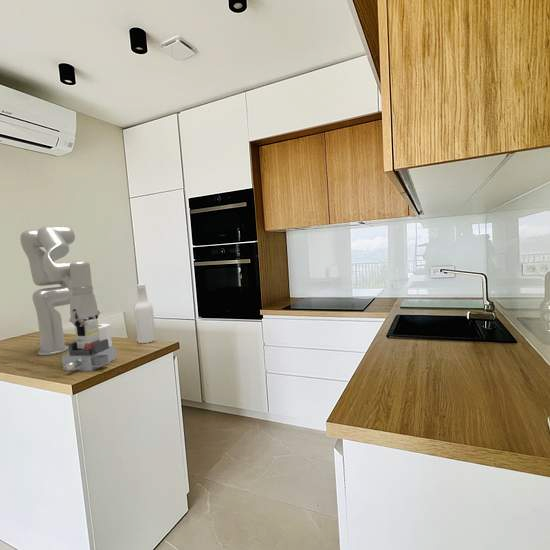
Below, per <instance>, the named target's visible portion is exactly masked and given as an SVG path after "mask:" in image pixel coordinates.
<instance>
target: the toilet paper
mask: <svg viewBox="0 0 550 550" xmlns="http://www.w3.org/2000/svg"><path fill="white" fill-rule="evenodd" d="M98 328H99V337H100V341H101V340H104V339H108V344H109V346H113V341H112V332H111V325H110V323H100V324H99V323H98Z"/></svg>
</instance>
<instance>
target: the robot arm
mask: <svg viewBox="0 0 550 550" xmlns="http://www.w3.org/2000/svg"><path fill="white" fill-rule="evenodd" d="M75 239H76V235H75V232H74V230H73V229H72V228H71V227H70V226H66V225H45V226H42V227H40V228H39V229H29V230H25V231H23V232H21V233H20V238H19V240H20V244H21V248H22V251H23V252H24V253H25V255H26V257H27V259H28V264H29V267H30V273H31V274H30V275H31V277H32V281H33V283H34V284H35V285H36V286H38V287H45V286H54V287H47V288H46V287H45V288H41V289H38V290H36V291H34V292H33V293H32V295H31V296H32V302H33V304H34V308H35V312H36V316H37V324H38V330H39V332H38V333H39V337H40V339H39V340H40V343H39V344H38V345H36V349H37V348H38V349H40V350H39V351H38V352H37V354H38V355H39V356H51V355H57V354H60V353H64V352H66V351H69V346H68V345H66V343H65V338H64V327H63V320H62V314H61V313H60V312H59V311H58V310H57V309H56V307H60V306H61V307H62V306H66V305H69V314H70V318H69V320H68V322H70V323H71V324H73V325H74V328H75V327H77V334H78V336H85V329H84V326H83V321H84V319H97V320H98V318H99V315H100V314H101V311H100V310H99V309H98V305H97V304H98V303H97V300H96V296H95V293H94V287H93V281H92V273H91V272H92V271H91V263H90V262H88V261H77V260H76V261H75V260H74V261H61V262H56V261H57V260H60V259H62V258H64V257H66V256H67V254H68V253H69V252H70V245H71V244H73V243H74V242H75ZM42 248H44V249H45V250H43V249H42ZM55 285H59V286H56V287H55ZM79 321H80V323H79Z"/></svg>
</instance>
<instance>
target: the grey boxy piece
mask: <svg viewBox="0 0 550 550" xmlns="http://www.w3.org/2000/svg"><path fill="white" fill-rule="evenodd" d="M92 345H93V349H79V348H77V340H75V341H73V342H70V343H68V345H67V346H69V349H68V353H66V354H62V355H61V360H62V361H61V362H62V369H63V371H67V372H68V371H74V372H75V371H76V372H77V370H78V372H94V371H96V370H97V369H100V368H101V367H103V366H105V364H106V365H107V364H109V363H112V362H113V360H114V361H115V359H116V360H117V359H118V358H117V352H116V350H117V348H116V345H112V346H109V344H108V339H104V340H101V341H99V342H96V343H94V344H92ZM111 361H112V362H111Z"/></svg>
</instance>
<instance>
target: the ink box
mask: <svg viewBox="0 0 550 550" xmlns="http://www.w3.org/2000/svg"><path fill="white" fill-rule="evenodd" d="M79 323H80V321H79ZM98 324H99V321H98V318H97V319H88V318H86V319H84V321H83V326H84V329H85V336H78V334H77V327H75V326H74V329H75V331H74V332H75V339H76V340H75V341H77V348H79V349H93V345H92V344H94V343H96V342H99V341H100V337H99V328H98Z"/></svg>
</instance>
